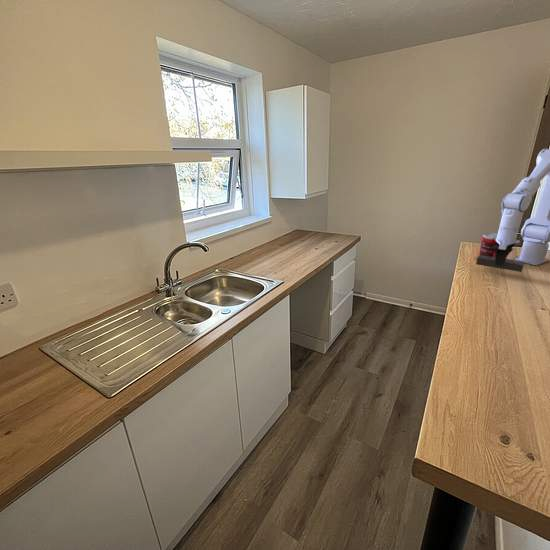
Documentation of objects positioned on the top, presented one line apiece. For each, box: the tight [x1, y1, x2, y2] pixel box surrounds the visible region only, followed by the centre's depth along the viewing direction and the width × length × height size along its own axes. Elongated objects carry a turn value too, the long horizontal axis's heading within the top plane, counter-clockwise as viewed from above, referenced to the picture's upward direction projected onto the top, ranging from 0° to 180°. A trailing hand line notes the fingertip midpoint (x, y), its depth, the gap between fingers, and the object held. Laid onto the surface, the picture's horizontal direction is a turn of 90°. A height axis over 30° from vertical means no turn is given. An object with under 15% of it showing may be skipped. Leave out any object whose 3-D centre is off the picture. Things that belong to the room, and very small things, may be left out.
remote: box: [475, 254, 525, 273], centre depth 113 cm, size 14×5×3 cm, turn 49°
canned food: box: [477, 232, 498, 258], centre depth 127 cm, size 8×8×11 cm
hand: (499, 262), depth 113 cm, fingers closed on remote, 4 cm apart
